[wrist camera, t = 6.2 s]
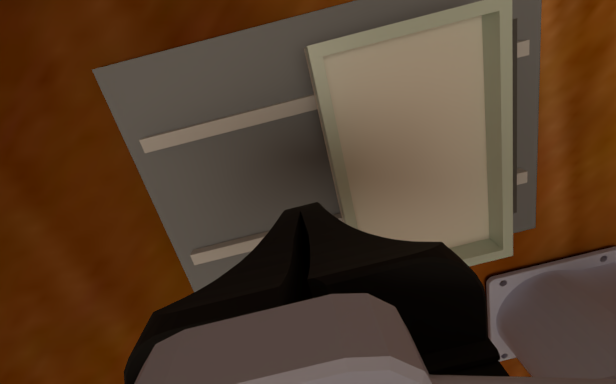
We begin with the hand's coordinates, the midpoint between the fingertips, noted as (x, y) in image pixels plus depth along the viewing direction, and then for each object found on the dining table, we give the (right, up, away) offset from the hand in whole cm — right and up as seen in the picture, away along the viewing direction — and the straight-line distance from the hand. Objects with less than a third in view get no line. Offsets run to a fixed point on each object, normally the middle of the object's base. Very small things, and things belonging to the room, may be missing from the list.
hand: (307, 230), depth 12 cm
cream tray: (+5, +4, +6) cm, 8 cm away
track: (+2, +3, +7) cm, 8 cm away
